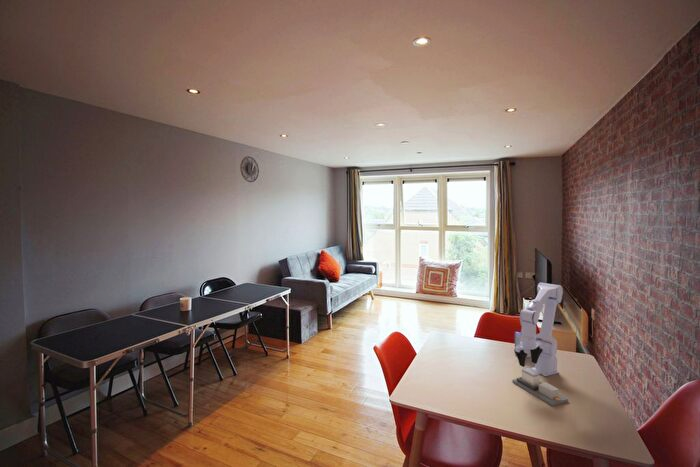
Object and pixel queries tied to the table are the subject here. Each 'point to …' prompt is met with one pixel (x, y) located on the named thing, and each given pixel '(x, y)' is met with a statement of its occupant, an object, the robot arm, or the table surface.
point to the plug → (531, 377)
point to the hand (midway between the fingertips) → (528, 364)
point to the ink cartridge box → (519, 339)
